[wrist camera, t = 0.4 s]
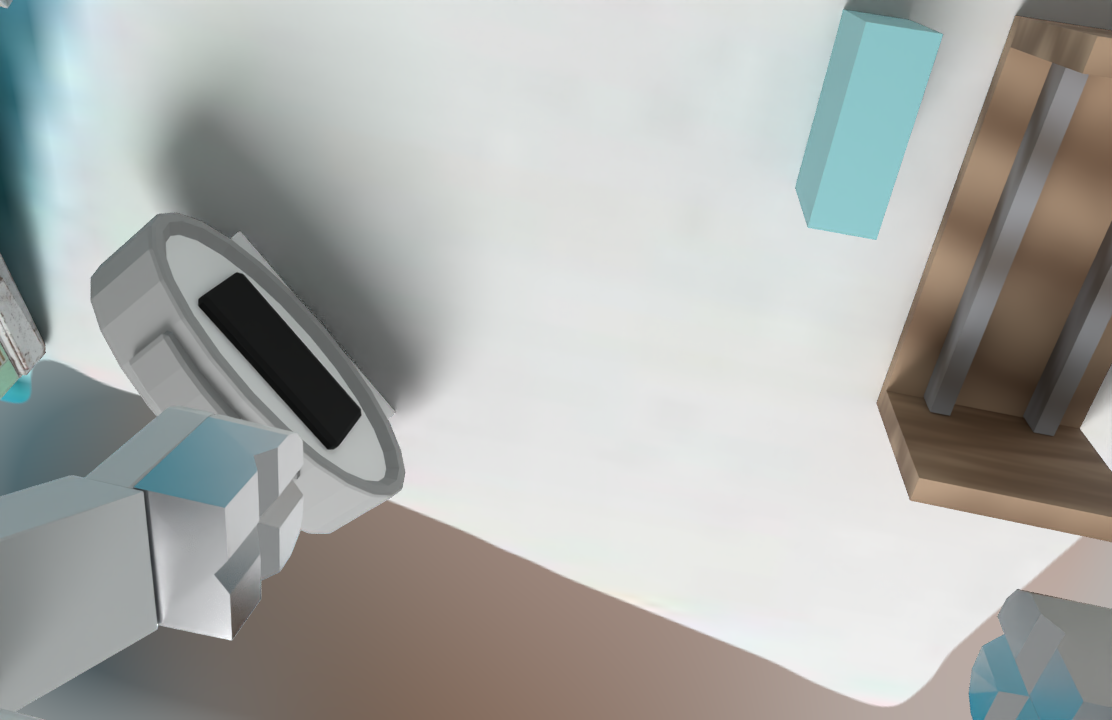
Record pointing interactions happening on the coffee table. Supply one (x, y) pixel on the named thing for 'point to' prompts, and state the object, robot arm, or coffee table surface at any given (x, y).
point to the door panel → (864, 121)
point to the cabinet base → (1017, 299)
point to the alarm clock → (246, 359)
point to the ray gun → (15, 326)
